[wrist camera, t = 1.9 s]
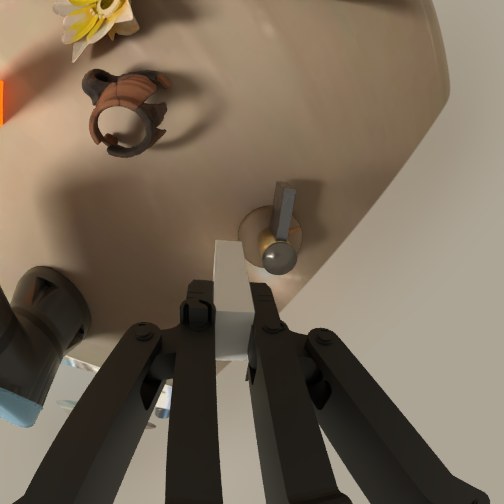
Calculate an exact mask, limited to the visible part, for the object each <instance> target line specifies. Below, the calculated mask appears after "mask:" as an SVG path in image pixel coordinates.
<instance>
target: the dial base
mask: <svg viewBox="0 0 504 504" xmlns="http://www.w3.org/2000/svg"><path fill="white" fill-rule="evenodd" d="M272 208H273V206H263V207H260V208H257V209H255V210H254V211H252V212H251V213H249V214H248V215H247V216H246V217H245V219H244V220H243V221H242V223H241V225H240V228H239V232H238V240H239V241H242V247H243V252H244V257H245V258H246V259H247V261H249V262H250V263H251V264H253V265H255V266H257V267H261V268H264V266H263V263H262V257H261V254H260V251H259V248H258V245H257V238H258V235H259V233H260V232H261V231H262V230H264V229H265V228H268V227H270V221H271V214H272ZM287 239H288V241H289V242H290V244H291V246H292V247H293V248H294V249H295V251H296V253H298V251H299V249H300V247H301V243H302V230H301V227H300V225H299V223H298V221H297V220H296V219H295V217H294V216H293V215H292V216H291V221H290V227H289V232H288V237H287Z"/></svg>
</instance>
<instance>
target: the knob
mask: <svg viewBox="0 0 504 504" xmlns="http://www.w3.org/2000/svg"><path fill="white" fill-rule="evenodd" d="M295 193H296V189H294V188H293V187H292V186H291V185H290V184H288V183H287V182H281V181H277V182H276V189H275V195H274V202H273V208H272V214H271V221H270V227H268V228H265V229H264V230H262V231H261V232H260V233H259V235H258V238H257V245H258V248H259V251H260V254H261V257H262V263H263V266H264V268H265V270H266V271H267V272H269V273H271V274H273V275H283V274H286V273H288V272H289V271H291V270H292V269H293V268H294V266H295V264H296V262H297V253H296V251H295V249H294V248H293V247H292V246H291V244H290V242H289V241H288V239H287V237H288V232H289V227H290V221H291V216H292V210H293V205H294V199H295Z"/></svg>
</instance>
